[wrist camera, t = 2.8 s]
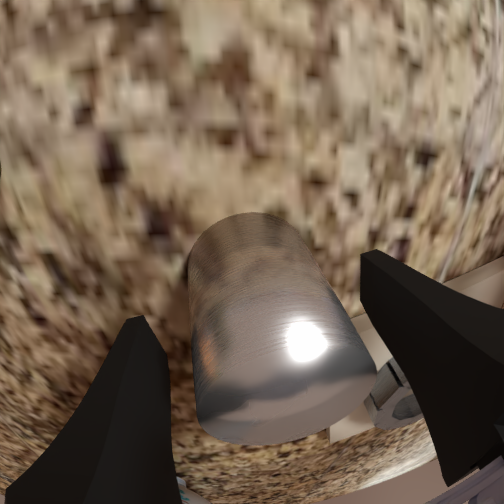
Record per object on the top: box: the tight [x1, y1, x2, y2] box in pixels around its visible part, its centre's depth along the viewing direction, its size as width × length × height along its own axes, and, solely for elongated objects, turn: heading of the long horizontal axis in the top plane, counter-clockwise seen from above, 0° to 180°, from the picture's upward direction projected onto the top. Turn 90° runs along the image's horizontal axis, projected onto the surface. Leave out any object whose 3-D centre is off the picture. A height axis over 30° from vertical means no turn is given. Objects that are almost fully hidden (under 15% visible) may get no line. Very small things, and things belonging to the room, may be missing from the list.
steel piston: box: [188, 212, 377, 445], centre depth 10 cm, size 4×4×6 cm
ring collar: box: [364, 357, 424, 430], centre depth 17 cm, size 8×8×2 cm
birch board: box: [326, 256, 504, 444], centre depth 18 cm, size 13×13×1 cm
